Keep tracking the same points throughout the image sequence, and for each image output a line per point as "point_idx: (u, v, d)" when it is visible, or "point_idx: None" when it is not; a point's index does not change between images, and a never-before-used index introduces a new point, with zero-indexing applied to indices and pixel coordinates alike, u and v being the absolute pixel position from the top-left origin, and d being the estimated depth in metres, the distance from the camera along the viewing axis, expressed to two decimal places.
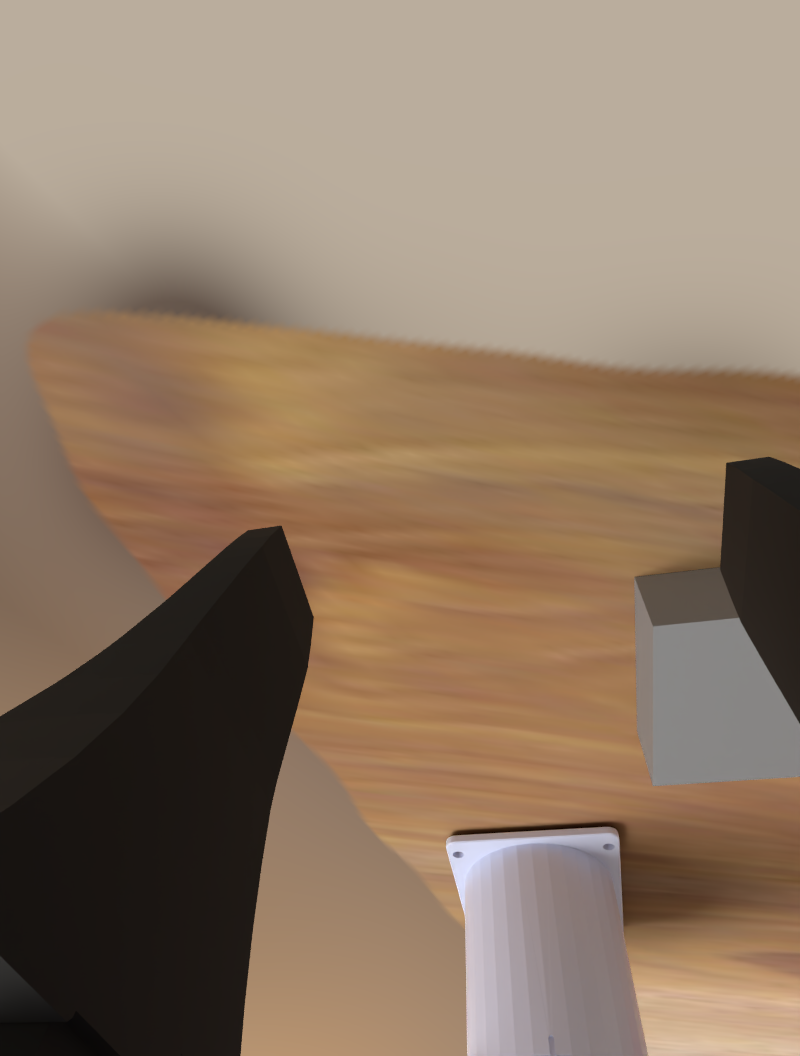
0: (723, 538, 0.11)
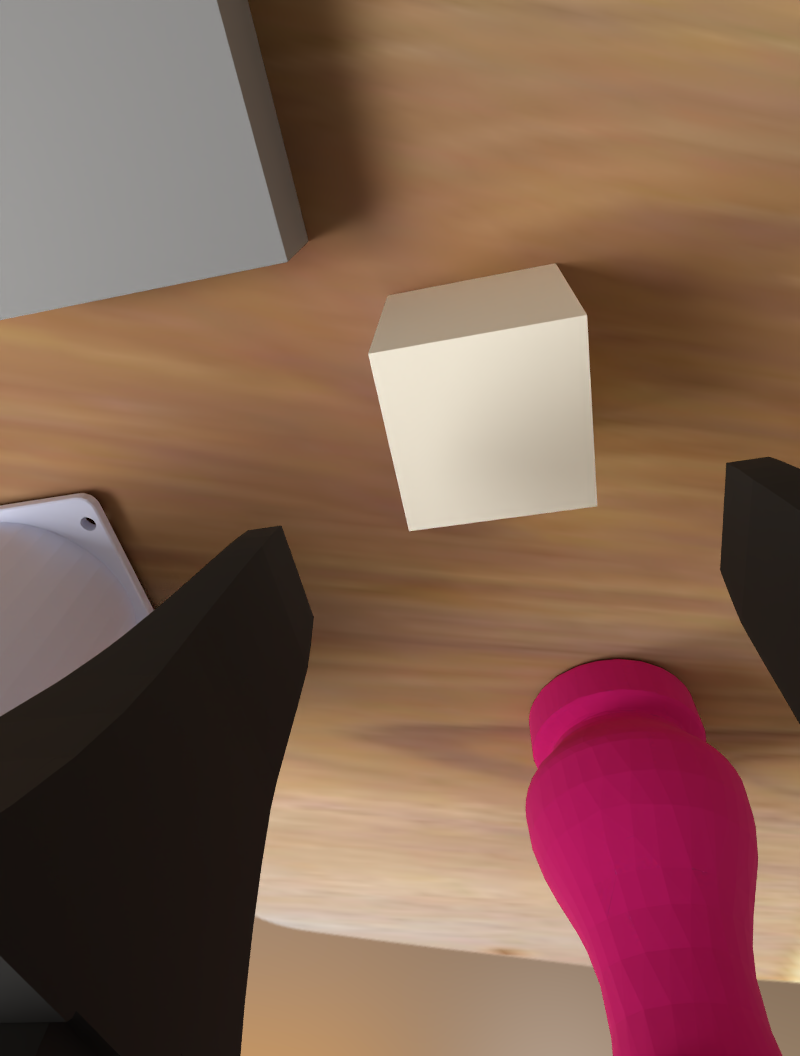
0: (723, 538, 0.11)
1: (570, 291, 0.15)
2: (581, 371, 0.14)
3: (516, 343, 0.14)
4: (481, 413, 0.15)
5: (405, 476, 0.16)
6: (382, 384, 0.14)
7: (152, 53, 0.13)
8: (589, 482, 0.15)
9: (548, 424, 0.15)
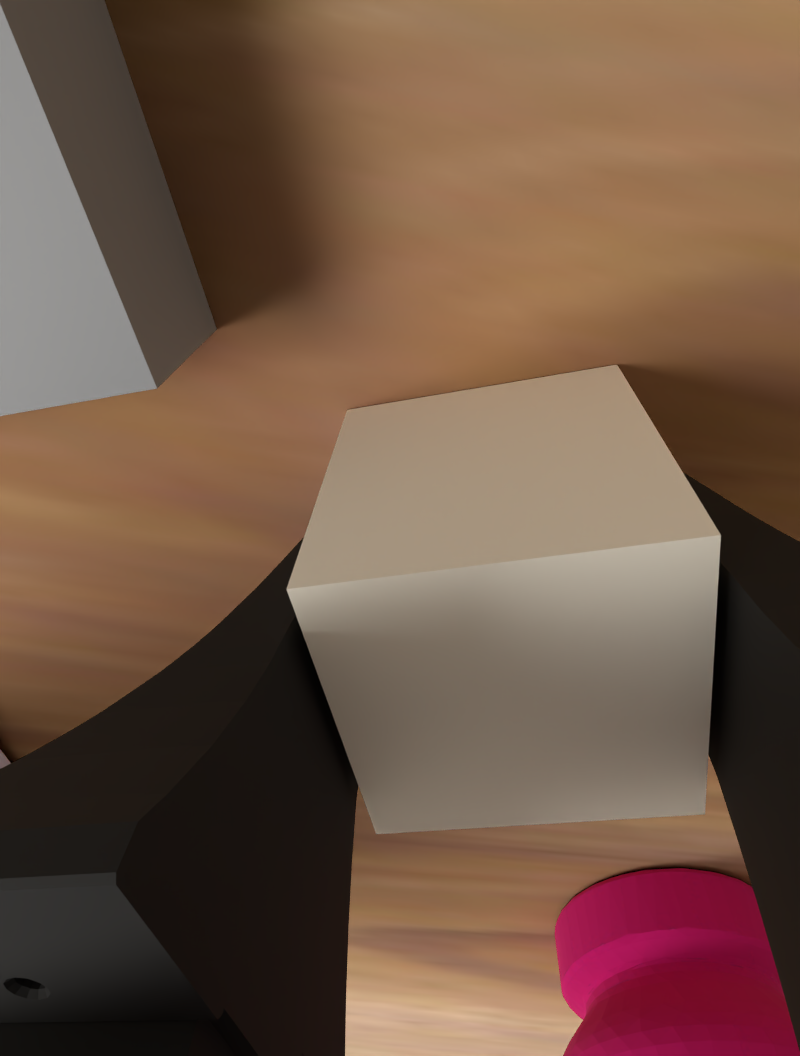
0: None
1: (664, 448, 0.08)
2: (698, 625, 0.07)
3: (574, 578, 0.07)
4: (503, 683, 0.08)
5: (366, 764, 0.09)
6: (316, 636, 0.08)
7: None
8: (695, 784, 0.09)
9: (627, 702, 0.08)
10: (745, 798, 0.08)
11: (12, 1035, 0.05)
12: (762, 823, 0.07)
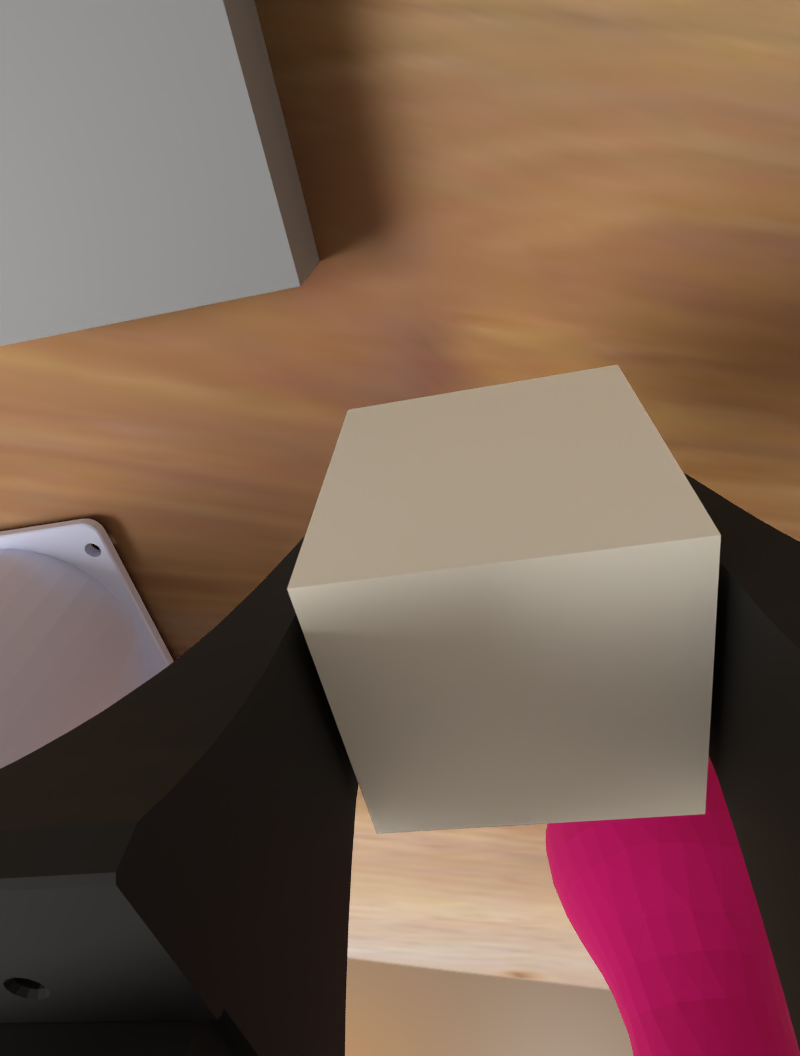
0: None
1: (664, 448, 0.08)
2: (699, 625, 0.07)
3: (574, 578, 0.07)
4: (503, 682, 0.08)
5: (367, 763, 0.09)
6: (317, 635, 0.08)
7: (158, 70, 0.13)
8: (695, 784, 0.09)
9: (627, 702, 0.08)
10: (745, 798, 0.08)
11: (12, 1035, 0.05)
12: (762, 823, 0.07)
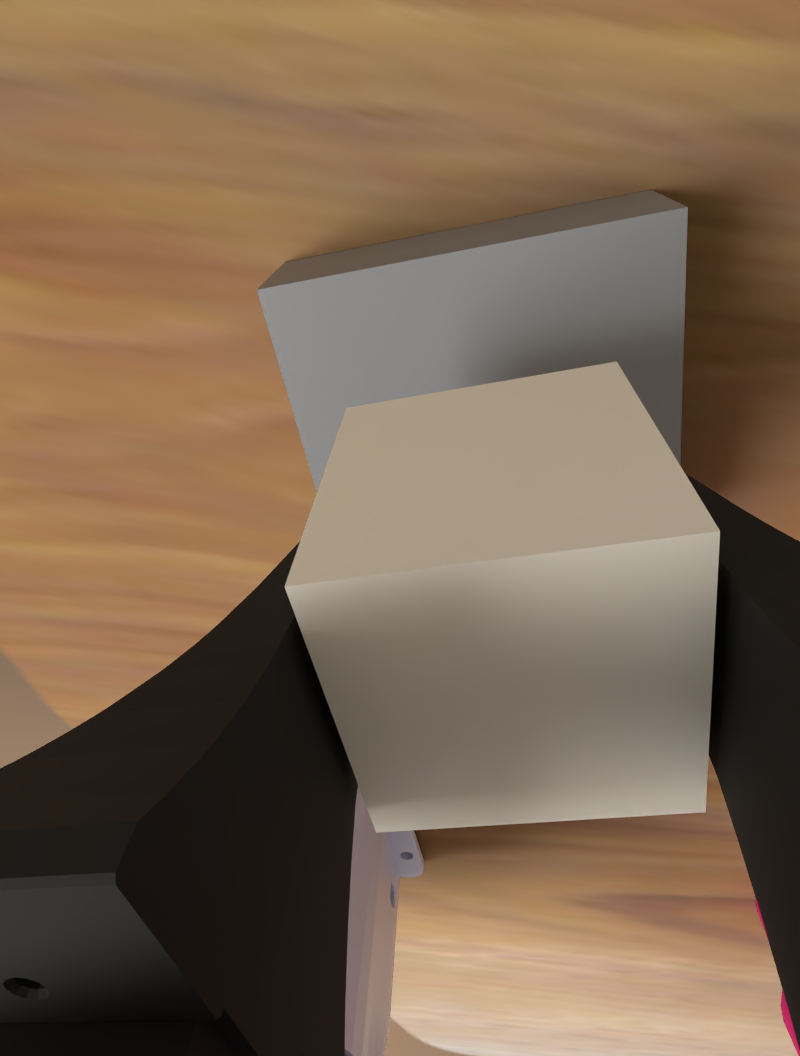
0: None
1: (663, 445, 0.08)
2: (698, 622, 0.07)
3: (573, 575, 0.07)
4: (501, 680, 0.08)
5: (366, 762, 0.09)
6: (315, 633, 0.08)
7: None
8: (695, 782, 0.09)
9: (627, 699, 0.08)
10: (745, 798, 0.08)
11: (12, 1035, 0.05)
12: (762, 823, 0.07)
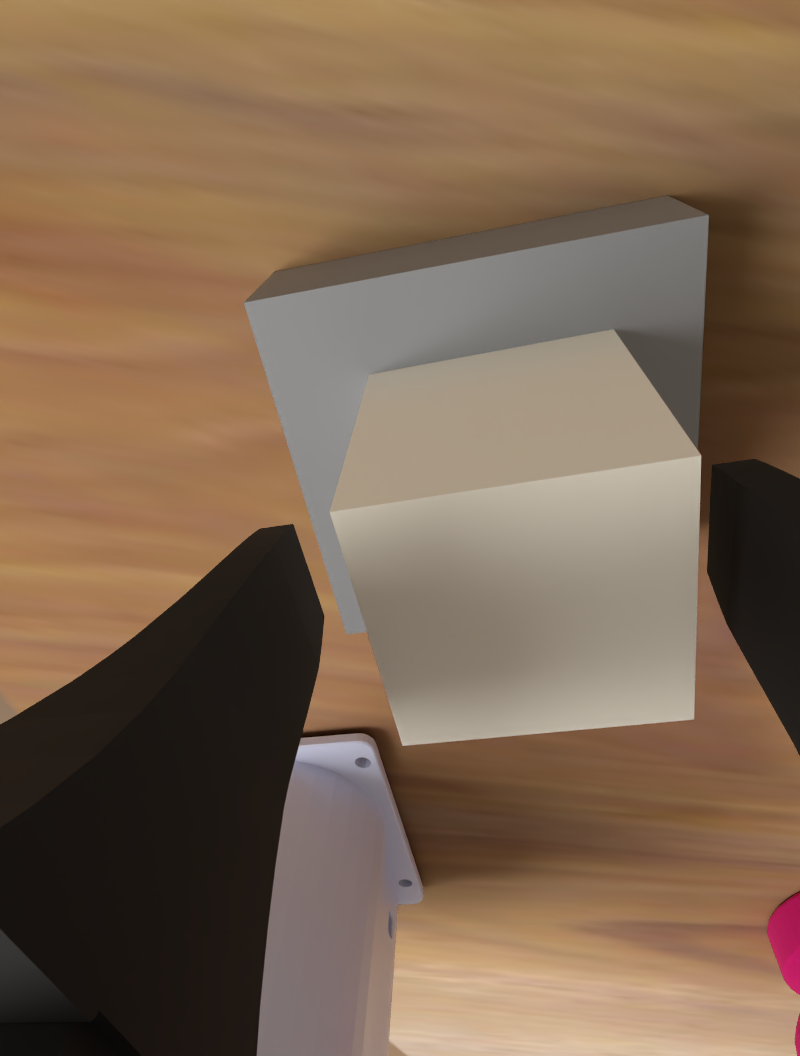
0: (710, 540, 0.11)
1: (654, 393, 0.09)
2: (684, 539, 0.08)
3: (576, 496, 0.08)
4: (515, 596, 0.09)
5: (395, 677, 0.10)
6: (354, 555, 0.09)
7: None
8: (684, 690, 0.10)
9: (624, 612, 0.09)
10: None
11: None
12: None
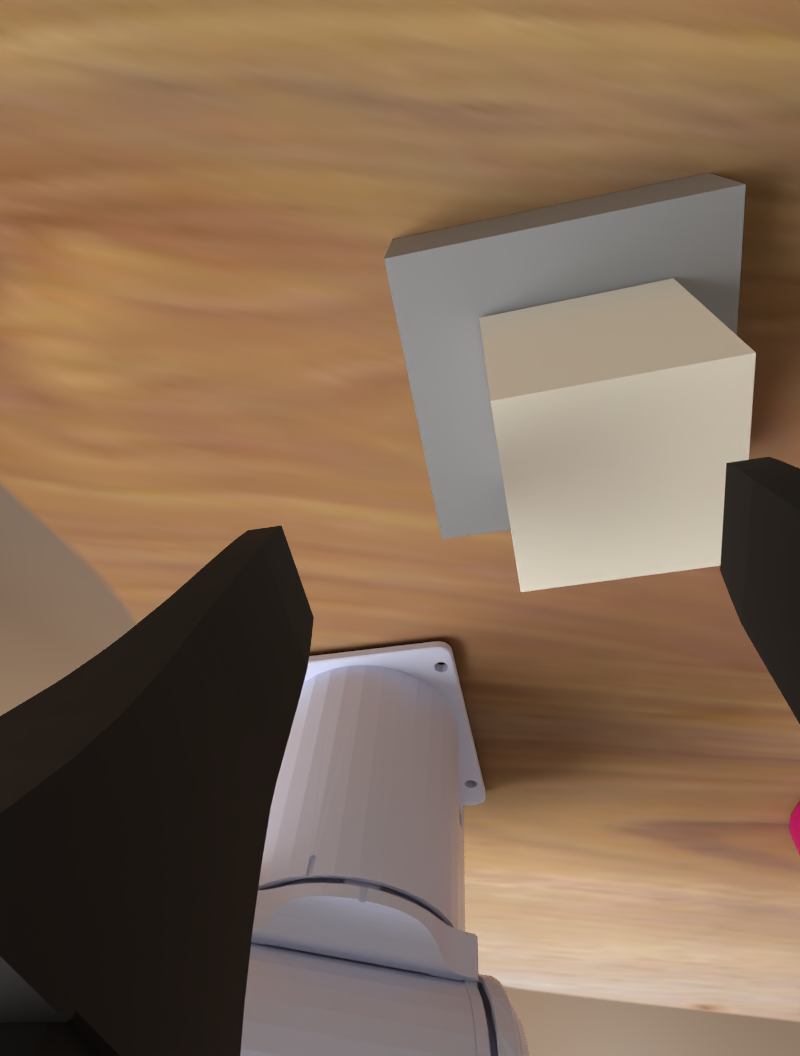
0: (723, 538, 0.11)
1: (715, 318, 0.13)
2: (741, 416, 0.12)
3: (667, 386, 0.12)
4: (617, 464, 0.13)
5: (521, 534, 0.14)
6: (504, 434, 0.12)
7: None
8: None
9: (695, 476, 0.13)
10: None
11: None
12: None
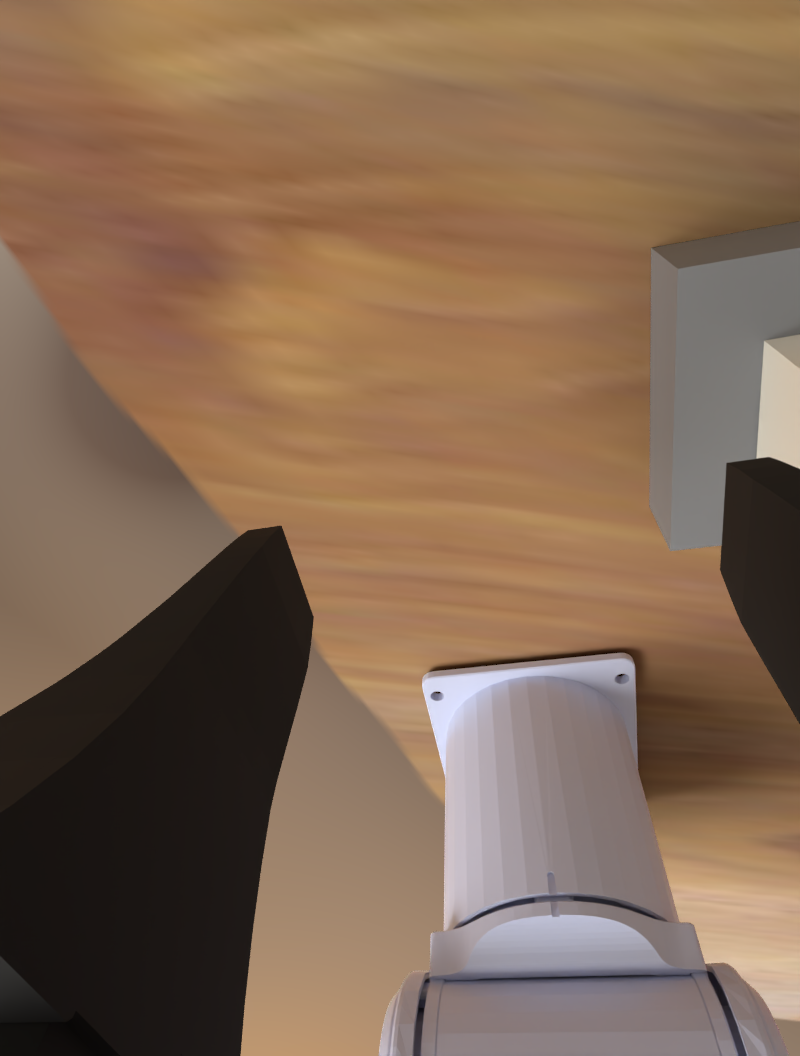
0: (723, 538, 0.11)
1: None
2: None
3: None
4: None
5: None
6: None
7: None
8: None
9: None
10: None
11: None
12: None
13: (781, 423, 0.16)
